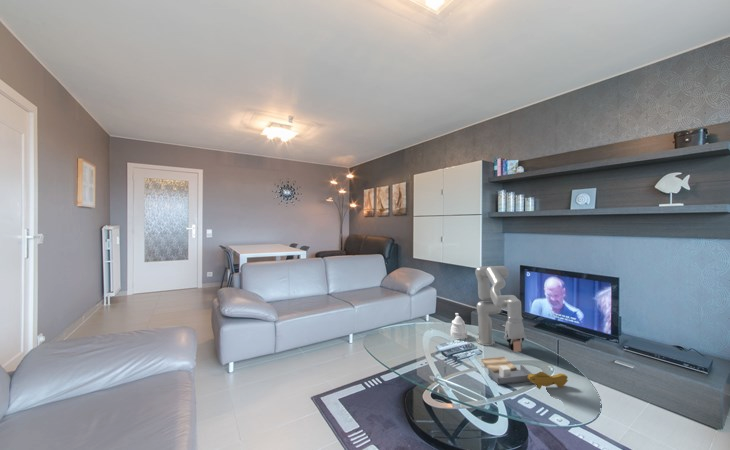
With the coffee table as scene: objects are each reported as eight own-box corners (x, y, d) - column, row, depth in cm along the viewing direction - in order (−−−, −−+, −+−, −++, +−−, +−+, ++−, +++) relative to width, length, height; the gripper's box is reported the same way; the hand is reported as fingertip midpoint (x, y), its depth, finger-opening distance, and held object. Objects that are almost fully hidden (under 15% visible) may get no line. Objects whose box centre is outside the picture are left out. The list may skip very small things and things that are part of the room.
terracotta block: (509, 348, 178) (509, 338, 178) (516, 347, 178) (516, 338, 178) (514, 351, 173) (513, 342, 173) (521, 351, 174) (520, 341, 174)
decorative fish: (528, 387, 164) (532, 370, 164) (525, 384, 167) (528, 367, 167) (566, 393, 165) (569, 376, 165) (562, 390, 168) (565, 373, 168)
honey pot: (447, 334, 240) (446, 312, 239) (460, 331, 243) (460, 310, 242) (456, 340, 227) (456, 318, 226) (470, 337, 231) (470, 315, 230)
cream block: (499, 375, 178) (499, 365, 178) (506, 374, 179) (506, 365, 178) (503, 379, 174) (503, 369, 173) (510, 378, 174) (510, 369, 174)
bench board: (481, 361, 195) (481, 359, 195) (503, 359, 197) (503, 356, 197) (492, 373, 182) (492, 370, 181) (516, 370, 183) (516, 367, 183)
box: (488, 374, 181) (488, 368, 181) (521, 370, 183) (521, 364, 183) (498, 385, 170) (498, 378, 170) (533, 381, 172) (533, 374, 172)
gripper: (523, 316, 180) (524, 345, 180) (497, 318, 178) (498, 347, 179) (531, 320, 172) (532, 350, 173) (505, 323, 170) (505, 353, 171)
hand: (515, 348), depth 176 cm, fingers closed on terracotta block, 4 cm apart
